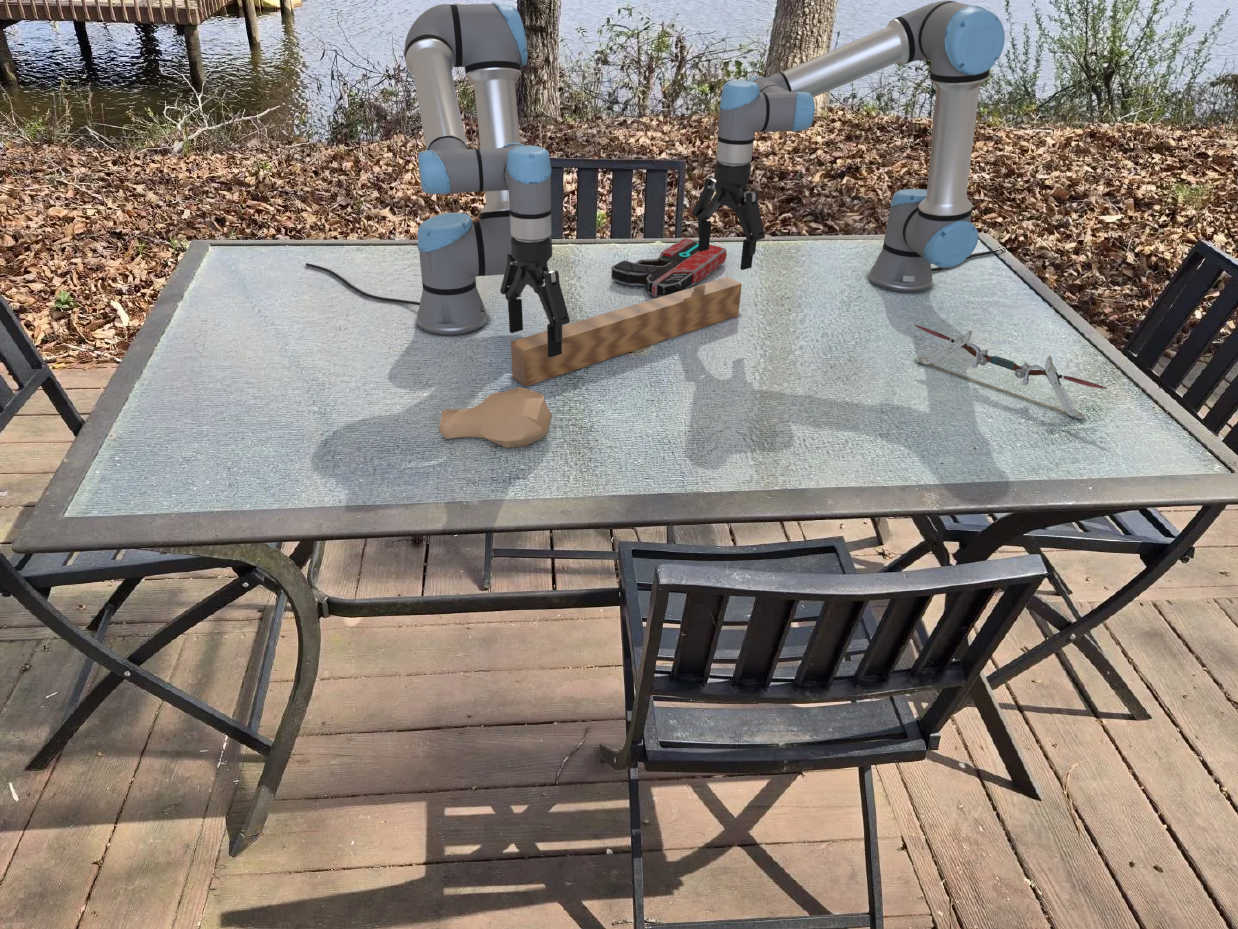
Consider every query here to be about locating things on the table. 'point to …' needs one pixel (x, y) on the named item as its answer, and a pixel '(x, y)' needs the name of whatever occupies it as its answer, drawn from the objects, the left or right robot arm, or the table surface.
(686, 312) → the post
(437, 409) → the table surface
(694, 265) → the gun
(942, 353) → the bow
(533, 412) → the squash
